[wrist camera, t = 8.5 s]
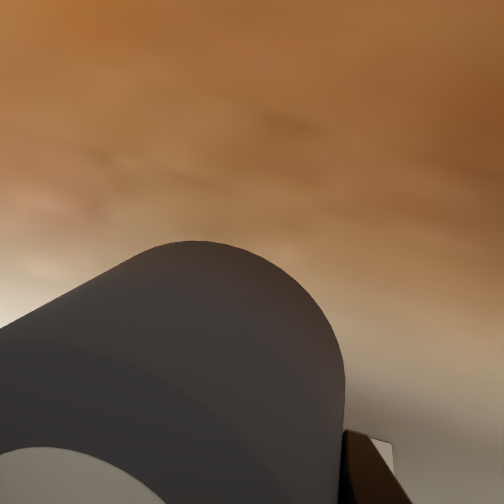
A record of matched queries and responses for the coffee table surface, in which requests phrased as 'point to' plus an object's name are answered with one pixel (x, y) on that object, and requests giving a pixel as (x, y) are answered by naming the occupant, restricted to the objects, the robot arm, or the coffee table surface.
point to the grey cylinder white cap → (173, 387)
